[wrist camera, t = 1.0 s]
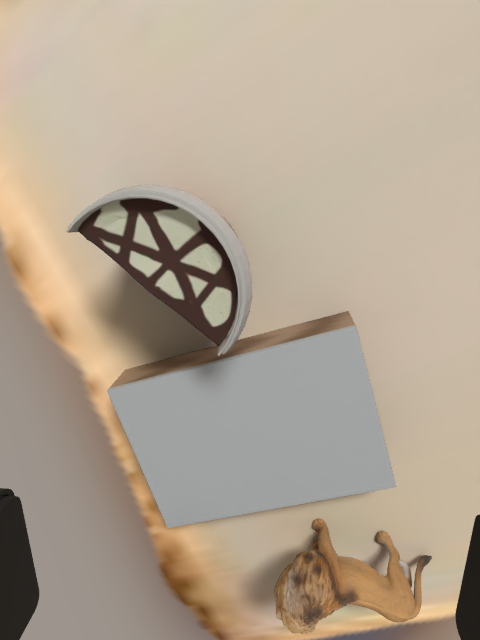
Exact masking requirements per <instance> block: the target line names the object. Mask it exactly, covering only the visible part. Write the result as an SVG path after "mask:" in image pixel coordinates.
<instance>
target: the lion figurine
mask: <svg viewBox="0 0 480 640" xmlns="http://www.w3.org/2000/svg"><path fill="white" fill-rule="evenodd" d="M313 529H315V530H317V532H318V534H319V538H318V541H315V542H314V544H313V549H314V551H313V550H312V551H309V552H302V553H300V554H299V555H297V556H296V559H295V560H294V563H292V564H290V565H289V566H288V567H287V568H286V569H285V570H284V571H283V572H282V573H281V576H280V577H279V579H278V581H277V583H276V586H275V589H274V592H275V601H276V607H277V608H276V617H277V618H278V619H281V620H282V622H283V624H284V625H285V626H287V627H288V629H289V630H291V632H292V633H301V634H303V633H309V632H313V631H314V629H315V625H316V624H317V623H318V621H319V620H321V619H323V618H326V617H327V616H328V615H331V614H332V613H333V612H334V611H335V610H338V609H340V608H341V607H343V606H346V605H347V604H354V605H359V606H363V607H367V608H369V609H372V610H374V611H376V612H378V613H380V614H381V615H382V616H384V617H385V618H387V619H388V620H391V621H393V622H405V621H407V620H410V619H413V618H415V617H416V616H417V615H418V613H419V611H420V608H421V573H422V570H423V568H424V566H425V565H427V564H428V563H429V561H430V560H431V559H432V556H427V555H424V556H423V557H422V558H421V559H420V560H419V562H418V564H417V568H416V573H415V581H414V596H413V593H412V590H411V587H412V580H411V571H410V568H409V567H408V565H407V564H406V563H405V562H402V561H400V555H399V553H398V551H397V550H396V548H395V547H394V545H393V543H392V540H391V538H390V536H389V535H388V534H387V533H386V532H384V531H380V532H378V533H377V536H376V540H377V541H378V542H379V543H381V544H383V545H385V546H386V548H387V549H388V551H389V555H390V558H389V563H388V569H387V576H382V575H380V574H379V573H378V572H377V571H376V570H374V569H373V568H372V567H370V566H369V565H368V564H366V563H365V562H362V561H360V560H358V559H354V558H350V557H338V556H337V554H336V552H335V550H334V549H333V546H332V543H331V540H330V536H329V531H328V528H327V525H326V524H325V522H324V521H323V520H322V519H316V520H314V521H313Z"/></svg>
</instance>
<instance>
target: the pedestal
mask: <svg viewBox="0 0 480 640" xmlns="http://www.w3.org/2000/svg"><path fill="white" fill-rule="evenodd" d="M218 350H219V346H214V347H211V348H207V349H203V350H199V351H195V352H192V353H188V354H184V355H180V356H177V357H173V358H169V359H165V360H161V361H158V362H154V363H150V364H146V365H142V366H139V367H135V368H131V369H127V370H125V371H124V372H123V373H122V374H121V375H120V377H119V378H118V379H117V380H116V381H115V382H114V383H113V385H112V386H111V387H110V388H109V389H108V390H107V392H108V394H109V397H110V399H111V401H112V404H113V406H114V408H115V410H116V413H117V415H118V417H119V419H120V422H121V424H122V426H123V428H124V431H125V433H126V435H127V437H128V440H129V442H130V444H131V446H132V449H133V451H134V453H135V456H136V458H137V460H138V462H139V465H140V467H141V469H142V471H143V474H144V476H145V478H146V480H147V483H148V485H149V487H150V489H151V492H152V494H153V496H154V498H155V501H156V503H157V505H158V507H159V510H160V512H161V514H162V517H163V519H164V521H165V523H166V526H167V528H171V527H177V526H182V525H188V524H193V523H199V522H204V521H210V520H215V519H221V518H227V517H232V516H238V515H243V514H249V513H254V512H260V511H265V510H271V509H276V508H282V507H287V506H293V505H298V504H304V503H310V502H315V501H321V500H326V499H332V498H337V497H343V496H348V495H354V494H359V493H365V492H370V491H376V490H382V489H387V488H393V487H396V483H395V479H394V475H393V471H392V467H391V463H390V459H389V455H388V451H387V447H386V443H385V439H384V435H383V431H382V427H381V424H380V420H379V416H378V412H377V408H376V404H375V400H374V396H373V392H372V388H371V384H370V380H369V376H368V372H367V368H366V364H365V360H364V356H363V352H362V348H361V344H360V340H359V336H358V332H357V328H356V326H355V324H354V322H353V320H352V318H351V316H350V314H349V312H348V311H347V312H343V313H339V314H336V315H332V316H328V317H324V318H320V319H317V320H313V321H309V322H305V323H302V324H298V325H294V326H290V327H286V328H283V329H279V330H275V331H271V332H267V333H264V334H260V335H256V336H252V337H248V338H245V339H241V340H237V341H236V342H235V343H234V344H233V346H232V347H231V348H230V350H228V351H227V352H226V353H225V354H224V355H223V354H222V353H221V354H220V355H219V356H218Z"/></svg>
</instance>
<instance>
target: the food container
mask: <svg viewBox="0 0 480 640" xmlns="http://www.w3.org/2000/svg"><path fill="white" fill-rule="evenodd" d="M68 228H69V229H68V230H67V231H66V232H80V233H81V234H82V235H83V236H84V237H85V238H86V239H87V240H89V241H91V242H92V243H94V244H95V245H96V246H98V247H99V248H100V249H101V250H102V251H104V252H105V253H106V254H107V255H108V256H110V257H111V258H112V259H113V260H114V261H116V262H117V263H118V264H119V265H120V266H121V267H122V268H124V269H125V270H126V271H127V272H128V273H129V274H130V275H131V276H132V277H133V278H134V279H136V280H137V281H138V282H139V283H140V284H141V285H142V286H143V287H144V288H146V289H147V290H148V291H149V292H150V293H152V294H153V295H154V296H156V297H157V298H158V299H160V300H161V301H162V302H164V303H165V304H167V305H168V306H169V307H171V308H172V309H173V310H175V311H176V312H177V313H178V314H180V315H181V316H182V317H184V318H185V319H186V320H187V321H189V322H190V323H191V324H192V325H194V326H195V327H196V328H197V329H198V330H200V331H201V332H202V333H203V334H205V335H206V336H207V337H208V338H210V339H211V340H212V341H213V342H214V343H216V344H217V345H218V346H219V350H218V356H219V355H220V354H221V353H222V354H223V355H224V354H225V353H226V352H227V351H228V350H230V348H231V347H232V346H233V344H234V343H235V342H236V340H237V339H238V338H239V336H240V334H241V332H242V330H243V328H244V326H245V324H246V321H247V318H248V315H249V312H250V306H251V300H252V278H251V272H250V266H249V263H248V260H247V257H246V253H245V250H244V248H243V246H242V245H241V243H240V241H239V239H238V236H237V235H236V233H235V232H234V230H233V229H232V227H231V226H230V224H229V223H228V222H227V221H226V220H225V219H224V218H223V217H222V216H221V215H220V214H219V213H218V212H217V211H216V210H214V209H213V208H212V207H210V206H209V205H208V204H206V203H205V202H203V201H202V200H200V199H198V198H196V197H194V196H192V195H191V194H189V193H186V192H183V191H180V190H177V189H174V188H171V187H165V186H158V185H138V186H133V187H127V188H123V189H120V190H117V191H115V192H112V193H110V194H108V195H106V196H104V197H103V198H101V199H99V200H98V201H96V202H94V203H93V204H91V205H90V206H88V207H87V208H86V209H85V210H84V211H83V212H81V213H80V214H79V215H78V216H77V217H76V218H75V219H74V221H73V222H72V223H71V224H70V226H69V227H68Z"/></svg>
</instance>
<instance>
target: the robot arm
mask: <svg viewBox="0 0 480 640" xmlns="http://www.w3.org/2000/svg"><path fill="white" fill-rule="evenodd" d="M38 600H39V587H38V582H37V578H36V573H35V568H34V563H33V558H32V553H31V548H30V544H29V539H28V534H27V529H26V524H25V519H24V514H23V509H22V504H21V501H20V498H19V497H16V496H14V493H13V491H12V490H11V489H2V488H0V640H19V639H20V637H21V635H22V634H23V632H24V630H25V628H26V626H27V624H28V623H29V621H30V619H31V617H32V615H33V613H34V612H35V609H36V607H37V604H38ZM456 624H457V629H458V633H459V635H460V638H461V640H480V515H477V516H476V518H475V522H474V527H473V531H472V536H471V541H470V546H469V551H468V556H467V561H466V565H465V570H464V575H463V580H462V585H461V590H460V595H459V599H458V604H457V609H456Z"/></svg>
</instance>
